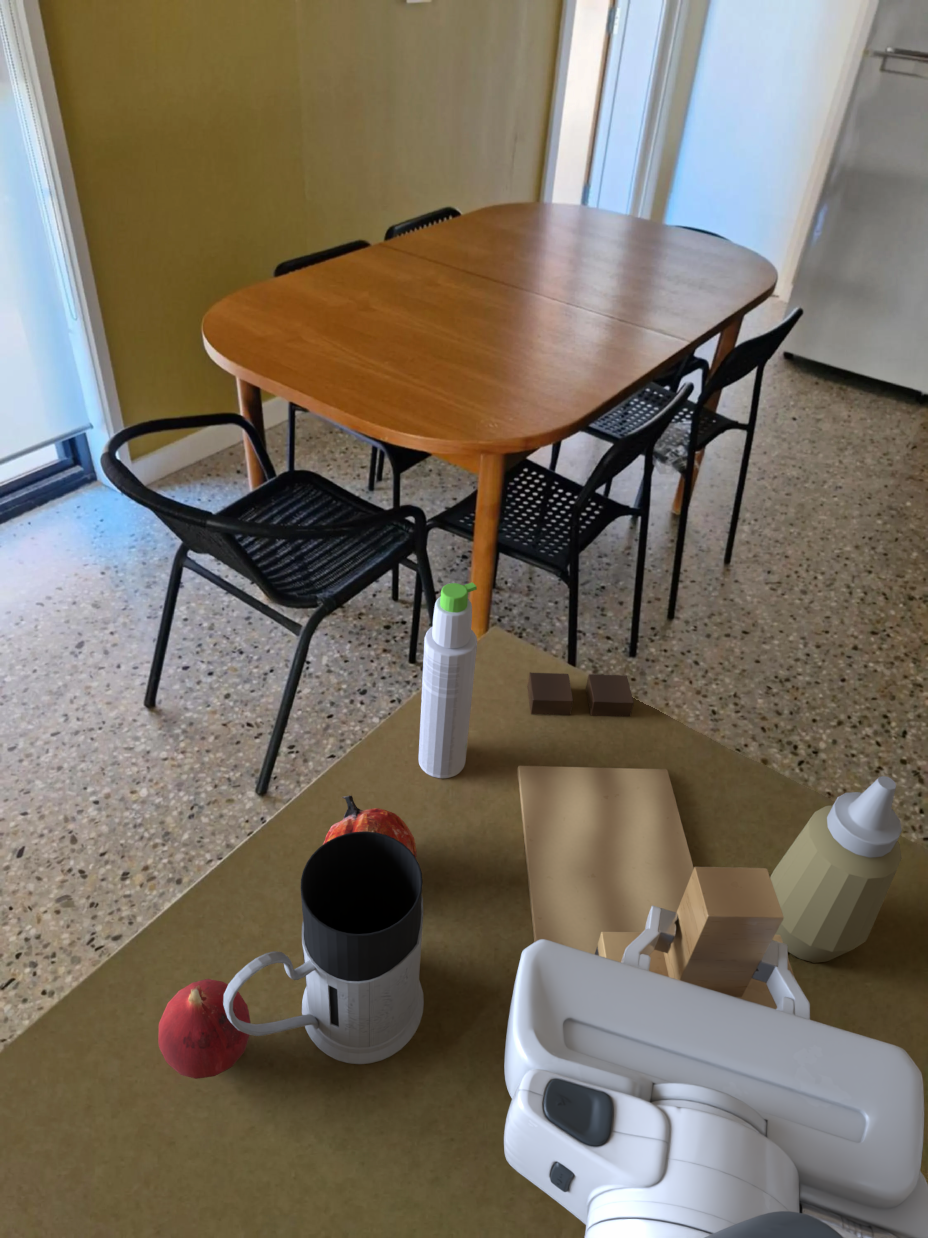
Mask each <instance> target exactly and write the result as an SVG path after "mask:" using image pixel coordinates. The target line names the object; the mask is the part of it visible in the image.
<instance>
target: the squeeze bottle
mask: <svg viewBox="0 0 928 1238" xmlns="http://www.w3.org/2000/svg"><path fill="white" fill-rule="evenodd" d="M896 788H897V783H896V782H895V780H893V779H892V778H891V777H889V776H886V775H883V776H882V775H881V776H879V777H878V778H877V779H875V781H874V782H872V783H871V785H869V786H867V789H865V790H864V791H863V792H860V791H852V792H845V793H843V794H841V795H839V796H837V798H836V799H835V801H834V803H833V804H832V805H825V806H824V807H821V808H820V809H818V810H816V811H814V813H813V814H812V816H811V817H810V818H809V820H808V821H807V823H806V824H805V825H804V826H803V828H802V830H801V831H800V833H799V834H798V835H797V837H796V838H795V839H794V841H793V842H792V843H791V845H790V846H789V848H788V849H787V851H786V852H785V854H784V855H783V857H782V858H781V859H780V861H779V862H778V863H777V865H776V867H775V868H774V870H772V872H771V874H770V875H769V876H770V878H771V881H772V884H773V887H774V890H775V893H776V896H777V899H778V902H779V905H780V907H781V910H782V913H783V916H784V918H783V920H782V922H781V924H780V926H779V928H778V930H777V932H776V933H775V935H781V938H782V941H783V943H784V944H787V946H788V953H789V954H791V955H792V956H794V957H796V958H797V959H800V960H802V961H807V962H811V963H823V962H829V961H832V960H834V959H836V958H838V957H840V956H842V955H845V954H846V953H848V952H852V951H853V950H854V949H855V948H857V947H859V946H861V945H863V943H865V942H866V941H867V940H868V938H869V935H870V933H871V931H872V929H873V927H874V924H875V921H876V920H877V917H878V915H879V913H880V910H881V908H882V906H883V903H884V901H885V899H886V897H887V894H888V892H889V890H890V887H891V885H892V882H893V880H894V877H895V875H896V873H897V870H898V868H899V866H900V863H901V861H902V851H901V846H900V843H899V841H898V840H899V839H900V836H901V834H902V831H903V829H902V823H901V820H900V818H899V817H898V815H897V814H896V812H895V810H894V809H893V808H892V807H893V802H894V797H895V793H896Z"/></svg>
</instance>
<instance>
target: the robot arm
mask: <svg viewBox="0 0 928 1238" xmlns="http://www.w3.org/2000/svg"><path fill="white" fill-rule="evenodd" d="M677 916H678V914H677V913H676V912H673V911H669V910H666V909H663V908H660V907H656V906H653V905H652V906H651V909H650V912H649V915H648V918H647V922H646V927H645V930H644V931H643V932H642V933H641V934H640V935H639V936H638V937H637V938H636V939H635V940H634V941H633V942H632V943H631V944H630V945H628V946H627V947H626V949H625V952H624V955H623V957H622V960H621V962H618V961H615V960H611V959H608V958H605V957H601V956H598V955H595V954H591V953H588V952H585V951H582V950H578V949H575V948H572V947H568V946H565V945H562V944H559V943H555V942H552V941H549V940H545V939H540V940H538V941H536V942H534V941H533V943H531V944H530V945H528V946H527V947H525V948H523V950H522V952H521V954H520V958H519V959H520V960H519V963H518V965H517V966H518V967H517V971H516V976H515V981H514V985H513V991H512V997H511V1001H510V1007H509V1013H508V1020H507V1028H506V1037H505V1048H504V1065H503V1066H504V1068H503V1069H504V1080H505V1086H506V1088H507V1091H508V1094H509V1096H510V1098H511V1101H510V1103H509V1107H508V1110H507V1114H506V1118H505V1124H504V1132H503V1133H504V1134H503V1151H504V1157H505V1159H506V1161H507V1163H508V1164H509V1165H510V1166H511V1168H512V1169H513V1170H514V1171H516V1172H517V1173H518V1174H520V1175H521V1176H522V1177H523V1178H525V1179H526V1180H528V1181H529V1182H530V1183H531V1184H533V1185H534V1186H535V1187H537V1188H538V1189H540V1190H541V1191H542V1192H544V1194H546V1195H548V1196H549V1197H550V1198H551V1199H553V1200H554V1201H556V1202H557V1203H558V1205H561V1206H562V1207H563V1208H564V1209H566V1210H567V1211H568V1212H569V1213H570V1214H572V1215H573V1216H574V1217H575V1218H577V1219H578V1220H579V1221H580V1222H581V1223H583V1224H584V1225H585V1231H584V1236H583V1237H584V1238H928V1181H927V1179H926V1177H925V1176H924V1174H923V1173H922V1171H921V1168H922V1167H921V1166H922V1161H923V1151H924V1137H925V1136H924V1133H925V1099H924V1098H925V1094H924V1091H925V1090H924V1079H923V1074H922V1071H921V1070H920V1068H919V1067H918V1065H917V1064H916V1063H915V1061H914V1060H913V1059H912V1057H911V1056H910V1054H909V1053H908V1052H907V1051H906V1050H905V1049H904V1048H902V1047H900V1046H898V1045H896V1044H892V1043H889V1042H885V1041H882V1040H879V1039H875V1038H872V1037H869V1036H865V1035H862V1034H858V1033H855V1032H852V1031H849V1030H845V1029H842V1028H839V1027H835V1026H833V1025H829V1024H825V1023H823V1022H819V1021H817V1020H812V1019H811V1003H810V1001H809V999H808V998H807V996H806V995H805V993H804V992H803V990H802V988H801V986H800V985H799V982H797V980H796V977H795V975H794V976H793V975H792V973H791V971H790V970H788V959H789V956H788V953H789V952H788V946H787V944H784V943H780V942H777V941H774V940H772V941H771V943H770V945H769V947H768V948H767V950H766V952H765V954H764V956H763V958H762V960H761V961H760V962H759V964H758V966H757V969H756V971H754V973H753V975H752V977H751V978H752V979H755V980H758V981H761V982H764V983H766V985H767V987H768V989H769V991H770V993H771V995H772V997H773V999H774V1001H775V1003H776V1006H777V1008H776V1009H773V1008H770V1007H767V1006H763V1005H760V1004H757V1003H753V1002H750V1001H747V1000H743V999H740V998H737V997H734V996H730V995H727V994H724V993H720V992H717V991H714V990H710V989H707V988H704V987H701V986H697V985H694V984H691V983H687V982H684V981H681V980H677V979H674V978H671V977H667V976H664V975H661V974H658V973H654V972H651V971H649V967H650V959H651V958H650V957H649V955H650V954H651V953H652V952H653V951H654V950H657V951H661V952H665V953H669V950H670V948H671V943H673V940H674V938H675V933H676V925H675V924H676V921H677ZM794 977H795V978H794Z"/></svg>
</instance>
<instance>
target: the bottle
mask: <svg viewBox="0 0 928 1238" xmlns="http://www.w3.org/2000/svg"><path fill="white" fill-rule="evenodd" d="M477 587H478V586H477V585H476V584H475V583H474V582H472V581H471V582H469V583H465V584H464V585H463V584H460V583H457V582H451V583H447V584H445V585H443V587H441V591H440V596H439V597H438V598H437V599H436V600H435V603H434V608H433V616H432V626H431V627H430V628H429V629H428V630H427V631H426V633H425V635H424V641H423V662H422V681H421V682H422V683H421V701H420V718H419V719H420V723H419V740H418V741H419V743H418V744H419V745H418V764H419V766H420V769H421V770H422V771H423V772H424V773H425V774H426V775H428V776H430V777H432V778H435V779H436V778H437V779H450V778H453V777H455V776H457V775H459V774H460V773H461V772H462V770H463V769H464V768H465V765H466V760H467V759H466V758H467V751H468V741H469V732H470V731H469V728H470V721H471V720H470V719H471V710H472V701H473V700H472V698H473V689H474V681H475V669H476V661H477V659H476V658H477V651H478V637H477V634H476V633H475V632H474V630H473V629H472V625H473V605H472V602H471V600H470V599H469V593H471V592H474V591H476V590H477V589H478V588H477Z"/></svg>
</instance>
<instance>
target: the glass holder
mask: <svg viewBox="0 0 928 1238" xmlns="http://www.w3.org/2000/svg"><path fill="white" fill-rule="evenodd" d="M423 880H424V879H423V873H422V869H421V866H420V863H419V861H418V859H417V856H416V857H415V856H414V855H413V853H412V852H411V851H410V850H409V849H408V848H407V847H406V846H405V845H404V844H403V843H401V842H399V841H398V840H396V839H395V838H392V837H390V836H387V835H385V834H381V833H377V832H367V831H363V832H352V833H347V834H344V835H341V836H338V837H335V838H333V839H332V840H330V841H328V842H326V843H325V844H323V843H322V845H321V846H319V847H318V848H317V849H316V850H315V851H314V852H313V853H312V855H310V857H309V859H308V860H307V861H306V863H305V866H304V868H303V870H302V873H301V877H300V898H301V909H302V910H301V911H302V923H301V944H302V955H303V964H301V965H300V966H298V967H296V968H294V965H293V962H292V960H291V958H289V956H288V955H286V953H284V952H282V951H276V950H273V951H270V952H269V951H268V952H265V953H263V954H261V955H259V956H258V957H255V958H254V959H252V960H251V961H250V962H248V963H247V964H245V966H244V967H243V968H241V969H240V970H239V971H238V972H237V973H236V974H235V975H234V976H233V978H232V979H231V980H230V981H229V983H227V984H228V986H227V989H226V991H225V993H224V1002H223V1005H224V1009H225V1012H226V1015H227V1018H228V1019H229V1021H230V1022H231V1023H232V1024H233V1025H234V1026H235V1027H236V1028H237V1029H238V1030H239V1031H241V1032H244V1033H246V1034H249V1036H255V1037H262V1036H268V1035H273V1034H277V1033H282V1032H287V1031H290V1030H293V1029H298V1028H301V1027H304V1028H305V1030H306V1033H307V1034H308V1036H309V1038H310V1040H311V1041H312V1042H313V1044H314V1045H315V1046H316V1047H317V1048H318V1049H319V1050H320V1051H321V1052H323V1053H324V1054H326V1056H328V1057H330V1058H332V1059H334V1060H336V1061H339V1062H342V1063H346V1064H353V1065H354V1064H355V1065H365V1064H373V1063H376V1062H380V1061H384V1060H386V1059H388V1058H390V1057H392V1056H393V1055H395V1054H396V1053H398V1052H399V1051H401V1050H402V1049H403V1048H404V1047H405V1046H406V1045H407V1044H408V1043H410V1040H411V1039H412V1038H413V1036H414V1035H415V1034H416V1031H417V1030H418V1028H419V1026H420V1024H421V1020H422V1017H423V1013H424V1005H425V1004H424V1003H425V1002H424V992H423V988H422V984H421V981H420V972H421V971H420V969H421V957H422V955H421V954H422V939H423V938H422V937H423V925H424V897H423V884H424V883H423V882H424V881H423ZM275 964H283V966H284V967H283V968H284V970H285V973H286V974H287V976H288V978H290V979H291V980H293V981H299V980H301V979H304V978H305V989H304V992H303V996H302V1001H301V1015H296V1016H293V1017H289V1018H285V1019H281V1020H275V1021H272V1022H265V1023H252V1022H251V1023H246V1022H243V1021H241V1020H239V1019H238V1018H237V1017H236V1016H235V1014H234V1012H233V1000H234V998H235V996H236V993H237V991H238V992H239V990H240V989H241V988H242V987H243V985H244V984H245V983H246V982H247V981H249V979H251V977H253V976H255V974H256V973H258V972H259V971H261V970H262V969H264V968H266V967H269V966H270V965H275Z"/></svg>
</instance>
